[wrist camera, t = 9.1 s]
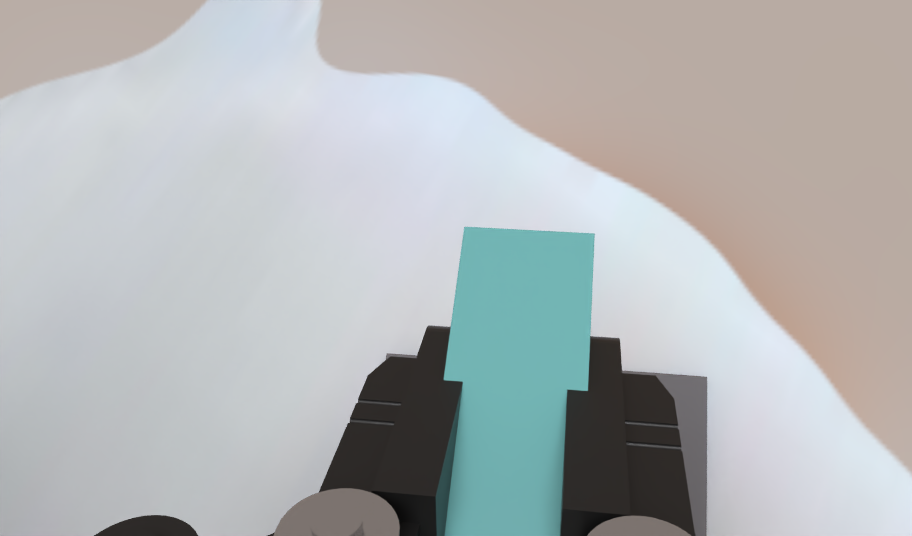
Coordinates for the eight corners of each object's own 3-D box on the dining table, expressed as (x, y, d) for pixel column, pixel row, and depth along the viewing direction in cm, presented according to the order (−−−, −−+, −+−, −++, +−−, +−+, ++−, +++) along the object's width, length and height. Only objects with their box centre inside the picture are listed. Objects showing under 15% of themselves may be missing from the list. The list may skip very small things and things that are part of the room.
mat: (347, 695, 28) (344, 697, 28) (388, 355, 32) (386, 353, 31) (703, 741, 27) (705, 744, 26) (705, 378, 30) (706, 377, 30)
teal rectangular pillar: (468, 728, 17) (398, 710, 8) (496, 449, 20) (464, 227, 11) (555, 739, 17) (573, 735, 8) (570, 456, 20) (594, 233, 11)
